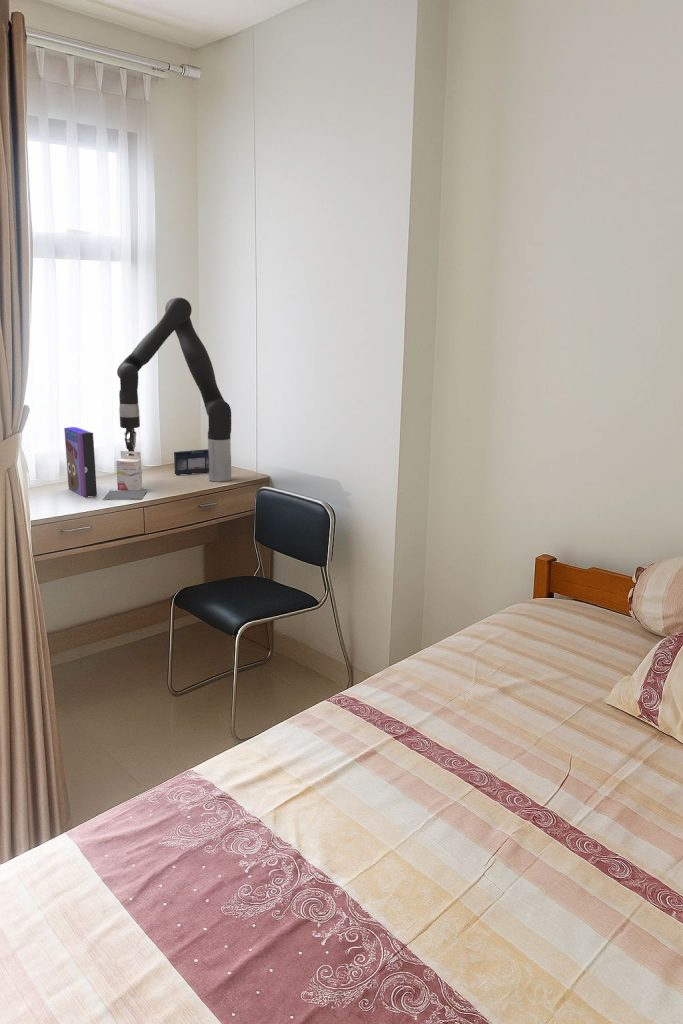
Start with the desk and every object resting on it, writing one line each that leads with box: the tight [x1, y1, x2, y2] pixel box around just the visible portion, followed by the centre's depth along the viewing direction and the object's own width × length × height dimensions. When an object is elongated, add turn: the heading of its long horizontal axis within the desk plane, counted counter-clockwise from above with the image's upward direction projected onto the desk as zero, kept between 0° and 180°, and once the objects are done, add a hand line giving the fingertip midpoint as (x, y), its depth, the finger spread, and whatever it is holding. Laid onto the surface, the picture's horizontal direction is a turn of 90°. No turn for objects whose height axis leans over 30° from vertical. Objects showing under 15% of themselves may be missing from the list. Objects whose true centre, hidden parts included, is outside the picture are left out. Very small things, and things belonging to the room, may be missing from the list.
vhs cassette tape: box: [173, 448, 209, 476], centre depth 335 cm, size 18×3×10 cm, turn 119°
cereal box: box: [63, 426, 98, 498], centre depth 294 cm, size 17×5×24 cm, turn 37°
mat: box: [102, 489, 148, 500], centre depth 293 cm, size 14×14×1 cm
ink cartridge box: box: [115, 450, 143, 490], centre depth 302 cm, size 9×5×15 cm, turn 84°
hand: (131, 458), depth 308 cm, fingers closed
